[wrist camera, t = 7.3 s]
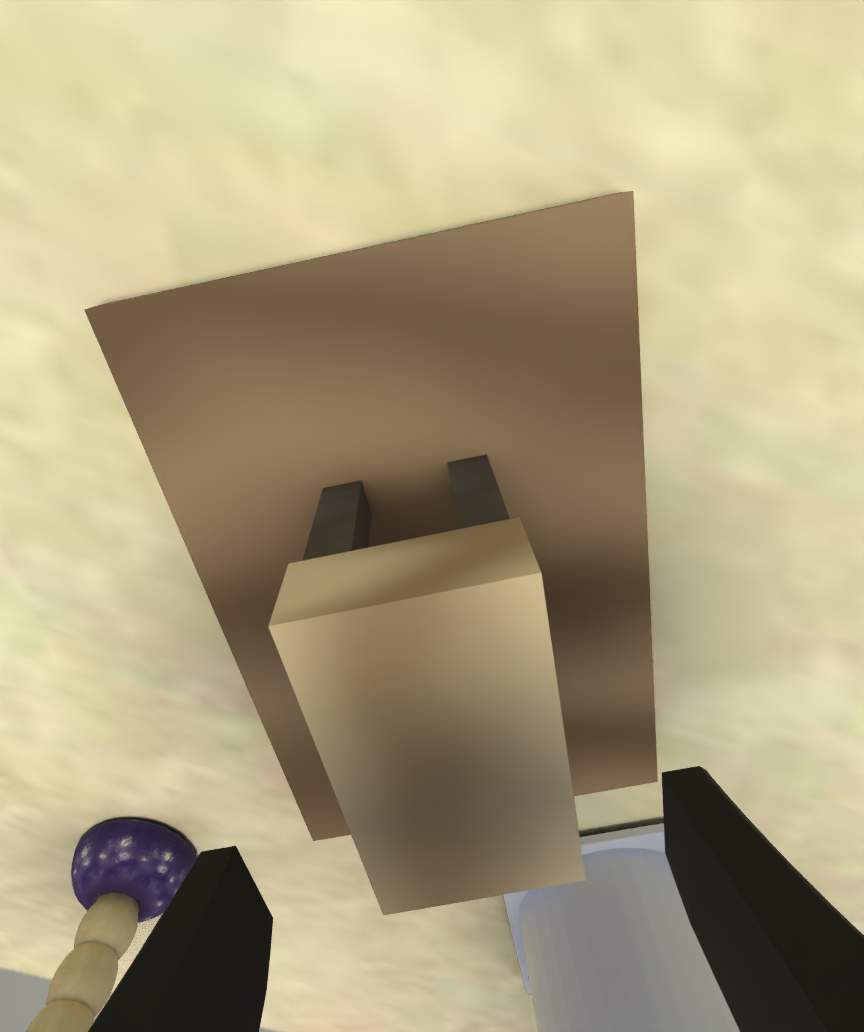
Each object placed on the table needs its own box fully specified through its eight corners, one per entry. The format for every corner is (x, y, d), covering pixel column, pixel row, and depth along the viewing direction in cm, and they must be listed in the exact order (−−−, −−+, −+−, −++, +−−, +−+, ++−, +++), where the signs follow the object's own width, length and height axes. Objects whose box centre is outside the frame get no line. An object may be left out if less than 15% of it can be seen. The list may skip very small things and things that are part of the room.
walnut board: (649, 762, 21) (657, 781, 21) (316, 820, 22) (313, 840, 21) (620, 192, 13) (633, 190, 13) (100, 304, 14) (84, 309, 13)
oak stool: (491, 445, 15) (541, 572, 10) (532, 688, 19) (585, 880, 13) (314, 482, 15) (268, 625, 10) (388, 715, 19) (383, 915, 13)
